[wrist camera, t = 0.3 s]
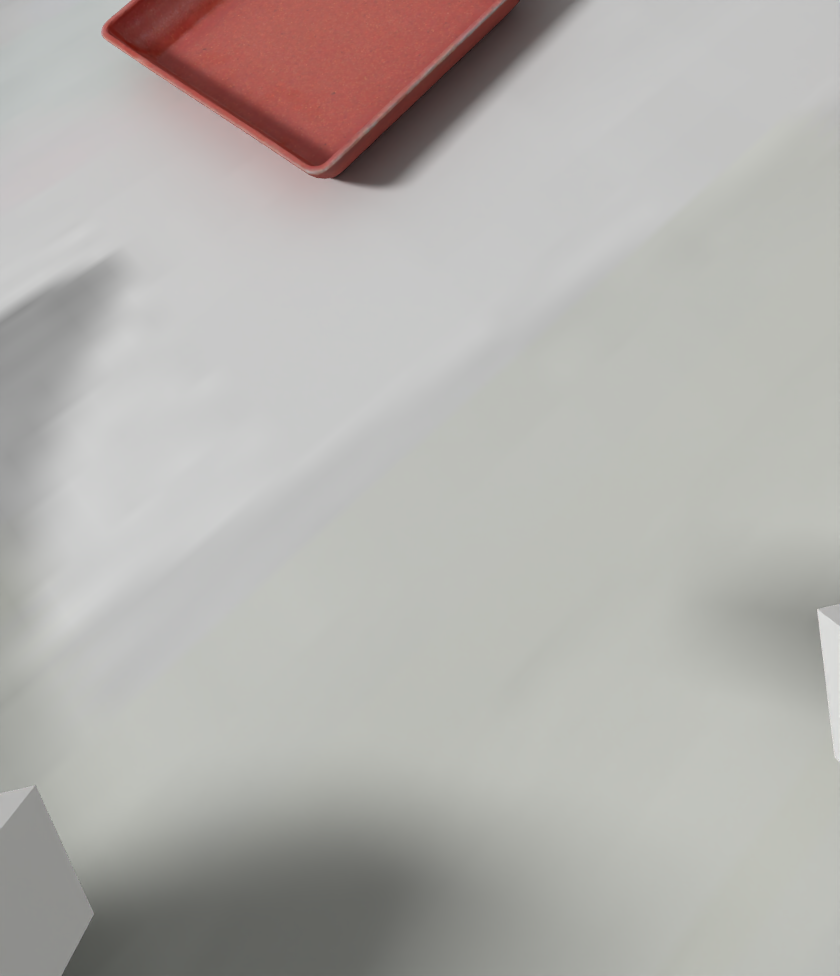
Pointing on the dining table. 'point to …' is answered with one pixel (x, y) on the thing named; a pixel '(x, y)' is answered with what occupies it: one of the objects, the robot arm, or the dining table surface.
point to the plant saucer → (305, 63)
